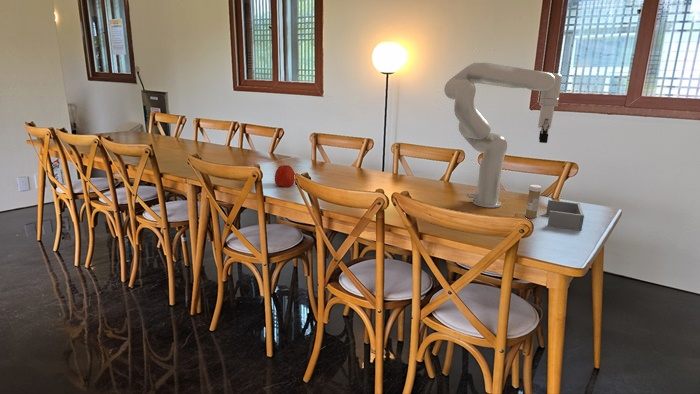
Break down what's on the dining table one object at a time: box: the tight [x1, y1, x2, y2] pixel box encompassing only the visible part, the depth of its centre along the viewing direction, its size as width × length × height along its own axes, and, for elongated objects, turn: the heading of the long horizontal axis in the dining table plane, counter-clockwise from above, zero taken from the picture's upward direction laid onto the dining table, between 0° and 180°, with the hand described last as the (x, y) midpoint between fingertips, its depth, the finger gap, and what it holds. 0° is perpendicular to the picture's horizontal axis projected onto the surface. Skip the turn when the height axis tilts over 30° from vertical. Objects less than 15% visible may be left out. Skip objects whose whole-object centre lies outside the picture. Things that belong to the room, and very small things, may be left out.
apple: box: [274, 164, 296, 188], centre depth 220 cm, size 10×10×10 cm
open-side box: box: [545, 199, 585, 231], centre depth 179 cm, size 12×18×6 cm, turn 158°
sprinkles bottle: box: [524, 184, 542, 219], centre depth 182 cm, size 5×5×13 cm
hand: (542, 141), depth 199 cm, fingers open, 9 cm apart
